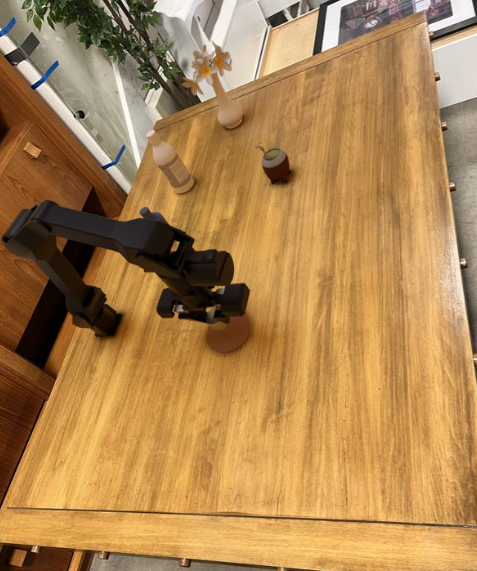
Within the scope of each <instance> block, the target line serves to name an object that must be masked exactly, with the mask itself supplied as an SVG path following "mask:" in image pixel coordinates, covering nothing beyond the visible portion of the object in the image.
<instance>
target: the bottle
mask: <svg viewBox="0 0 477 571" xmlns="http://www.w3.org/2000/svg"><path fill="white" fill-rule="evenodd" d="M139 215H140V216H141V218H145V219H152V220H159V221H163V222H165V223H167V224H169V225H170V223H169V222H168V221H167V219H166V218H165V216H164V215H163V214H162V213H161V212H158V211H151V210H150V208H149V207H148V206H144V207H142V208H140V210H139Z"/></svg>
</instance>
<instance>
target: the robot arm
mask: <svg viewBox="0 0 477 571" xmlns="http://www.w3.org/2000/svg"><path fill="white" fill-rule="evenodd" d="M57 238H62V239H65V240H70V241H74V242H77V243H82V244H85V245H89V246H93V247H97V248H100V249H104V250H107V251H108V250H109V251H112V252H114V253H117V254H120V255H121V256H122V257H123V259H125V261H126V262H127V263H128V264H130V265H134V266H137V267H138V268H140V269H142V270H143V272H144V273H146V274H149V273H150V274H151V273H154V274H155V275H156V276H157V277H158V278H159V280H161V281H162V282H163V283H164V285H166V287H164V288H163V289H162V291H161V293H160V296H159V298H158V301H157V304H156V307H155V310H156V313H157V315H158V316H159V317H160V318H161V319H173V318H174V317H175V314H176V313H177V319H179V320H184V321H191V322H197V323H201V324H206V325H209V324H208V323H207V322H206V315H207V313H208V311H207V309H213V308H215V312H214V316H213V318H214V319H216V320H219V321H221V322H223V323H226V324H229V322H230V317H242V316H243V315H246V312H247V307H248V302H249V298H250V293H251V288H250V287H249V286H248V285H247V284H246V283H245V282H234V283H232V282H233V280H234V276H235V262H234V259H233V257H232V255H231V253H230V252H228V251H226V250H218V249H216V248H209V249H205V250H196V249H195V248H194V244H195V242H196V239H195V237H193V236H191V235H189V234H187V232H186V231H184V230H183V229H179V228H177V227H174V226H172V225H171V224H170V223H169V224H167V223H165V222H163V221H159V220H152V219H145V218H143V217H137V218H133V219H128V220H124V221H123V220H118V219H114V218H110V217H106V216H101V215H98V214H94V213H89V212H86V211H82V210H77V209H74V208H70V207H67V206H61V205H60V204H59V203H57V202H55V201H54V200H52V199H51V200H50V199H45V200H43V201H41V202H39V201H37V202H36V203H35V204H34V205H32V207H30V208H22V209H20V210H19V212H18V213H17V214H16V216H15V217H14V219H12V221H11V222H10V224H9V226H8V227H7V228H6V229H5V231H4V233H3V234H2V236H1V238H0V241H1V243H2V244H3V245H4V247H5V249H6V250H7V251H8V252H10V253H11V254H14V255H15V256H16V257H18V258H23V259H28V260H29V259H30V260H32V261H33V262H34V264H36V265H37V266H38V268H39V269H40V270H41V271H42V272H43V273H44V274H45V275H46V277H48V279H49V280H50V281H51V282H52V283H53V284H54V285H55V286H56V287H57V288H58V290H59V291H60V292H61V293H62V294H63V295H64V296H65V308H66V311H67V312H68V313H69V314H70V316H71V324H72V326H75V327H77V328H78V329H88V330H89V329H90V330H91V331H92V332H94V337H97V338H99V337H100V338H102V337H103V338H104V337H105V338H107V337H108V338H110V337H111V338H112V337H115V336H116V333H117V331H118V328H119V326H120V324H121V321H122V320H123V316H124V314H123V313H122V312H119V313H118V312H117V310H115V309H114V308H113V307H112V306H111V305H109V304H108V303H106V302H107V301H108V298H107V294H106V293H105V292H104V291H103V290H102V288H101V287H98V286H96V285H90V284H86V282H85V281H84V280H83V279H82V277H81V276H80V274H79V272H77V270H75V268H74V267H73V265H72V264H71V263H70V261H69V260H68V259H67V258H66V257H65V255H64V254H63V252H62V251H61V250H60V248H59V247H58V244H57ZM175 242H179V243H178V245H177V247H176V250H173V247H174V244H175ZM216 287H219V288H217V289H216V290H215V291H213V289H215V288H216Z"/></svg>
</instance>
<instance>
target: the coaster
mask: <svg viewBox="0 0 477 571" xmlns="http://www.w3.org/2000/svg"><path fill="white" fill-rule="evenodd" d="M250 332H251V324H250V320H249V319H248V317H247V316H246V314H244V315H243V316H242V317H230V322H229V324H228V325H227V327H226V328H225V329H224V330H222V331H215V330H213V328H212V327H211V326H210V325H209V326H208V328H207V331H206V341H207V344H208V346H209V347H210V348H211V349H212V350H213V351H215V352H217V353H220V354H228V353H232V352H235V351H236V350H238V349H239V348H241V347H242V346H243V345H244V344H245V343H246V341H247V340H248V338H249V335H250Z"/></svg>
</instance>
